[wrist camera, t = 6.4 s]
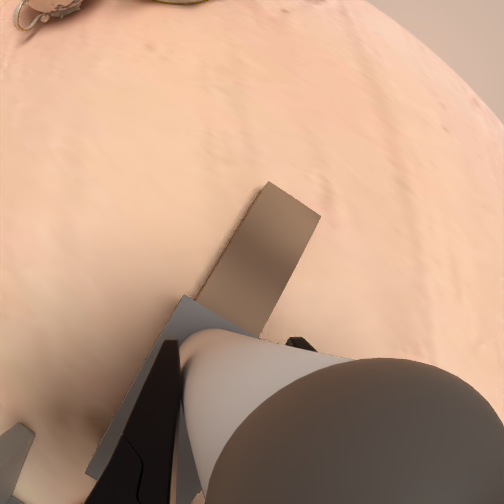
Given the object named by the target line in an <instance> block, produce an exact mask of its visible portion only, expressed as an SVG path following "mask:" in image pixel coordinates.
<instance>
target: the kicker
mask: <svg viewBox="0 0 504 504" xmlns="http://www.w3.org/2000/svg"><path fill="white" fill-rule="evenodd" d="M164 339H178V340H179V351H180V366H181V398H180V425H179V441H178V459H177V482H176V504H190V503H191V502H192V500H193V499H194V497H195V496H196V494H197V493H200V491H201V490H203V493H204V497H205V500H206V501H205V504H504V426H503V423H502V422H501V420H500V419H499V417H498V415H497V414H496V412H495V411H494V409H493V408H492V406H491V405H490V404H489V402H488V401H487V400H486V399H485V398H484V397H483V396H482V395H481V394H480V393H479V392H478V391H476V390H475V389H474V388H473V387H472V386H470V385H469V384H468V383H466V382H465V381H463V380H462V379H460V378H459V377H457V376H455V375H453V374H451V373H449V372H447V371H445V370H442V369H440V368H437V367H435V366H432V365H428V364H424V363H421V362H416V361H411V360H407V359H394V358H371V359H360V360H352V359H347V358H342V357H337V356H332V355H327V354H322V353H317V352H313V351H308V350H304V349H299V348H295V347H290V346H286V345H282V344H278V343H273V342H269V341H265V340H262V339H260V338H258V337H256V336H254V335H253V334H251V333H249V332H247V331H246V330H244V329H242V328H240V327H238V326H237V325H235V324H233V323H232V322H230V321H228V320H226V319H225V318H223V317H221V316H220V315H218V314H216V313H214V312H213V311H211V310H209V309H208V308H206V307H204V306H203V305H201V304H199V303H198V302H196V301H194V300H193V299H191V298H189V297H188V296H186V295H184V296H183V297H182V298H181V300H180V301H179V303H178V305H177V306H176V308H175V310H174V312H173V313H172V315H171V317H170V318H169V320H168V322H167V323H166V325H165V327H164V329H163V330H162V332H161V334H160V336H159V337H158V339H157V341H156V342H155V344H154V346H153V348H152V349H151V351H150V353H149V355H148V356H147V358H146V360H145V362H144V363H143V365H142V367H141V369H140V371H139V372H138V374H137V376H136V378H135V379H134V381H133V383H132V385H131V387H130V388H129V390H128V392H127V394H126V396H125V397H124V399H123V401H122V403H121V405H120V407H119V408H118V410H117V412H116V414H115V416H114V418H113V419H112V421H111V423H110V424H109V426H108V428H107V430H106V431H105V433H104V435H103V437H102V439H101V441H100V443H99V445H98V447H97V448H96V451H95V453H94V455H93V457H92V459H91V461H90V463H89V466H88V468H87V470H86V472H85V474H87V475H88V476H90V477H92V478H94V479H96V480H97V481H98V479H99V478H100V476H101V474H102V472H103V471H104V469H105V467H106V465H107V463H108V462H109V459H110V457H111V455H112V453H113V451H114V449H115V447H116V444H117V442H118V440H119V437H120V435H122V431H123V428H124V426H125V424H126V422H127V419H128V417H129V415H130V412H131V410H132V408H133V406H134V403H135V401H136V399H137V397H138V394H139V392H140V390H141V388H142V386H143V383H144V381H145V379H146V377H147V375H148V372H149V370H150V368H151V366H152V364H153V361H154V359H155V357H156V355H157V353H158V351H159V349H160V346H161V344H162V342H163V340H164Z"/></svg>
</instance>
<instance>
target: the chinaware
mask: <svg viewBox="0 0 504 504" xmlns="http://www.w3.org/2000/svg"><path fill="white" fill-rule="evenodd" d="M81 1H83V0H22V1H21V2H20V3H19V4H18V6H17V7H16V9H15V12H14V25H15V27H16V28H17V29H18V30H19V31H27V30H29V29H31V28H32V27H33V26H34V24H35V23H36V21H37V20H38V18H39V17H41V19H40V20H41V22H44V23H45V22H47V21H48V20H49V18H50V16H55V17H60V18H63V17H64V16H65V15H68V14H70V13H72V12H74V11H76V10H80V8H79V7H80V5H81ZM153 1H156V2H161V3H167V4H195V3H201V2H205V1H208V0H153ZM22 5H24V6H28V5H29V6H30V7H31V8H33V9H35V10H37V11H40V12H43V13H41V14H39V15H38V16H36V18H35V19H34V20H33V22H32V23H31V24H30V25H29V26H28V27H26V28H22V27H20V25H19V21H18V19H19V13H20V9H21V7H22ZM48 13H50V14H48Z"/></svg>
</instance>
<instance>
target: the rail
mask: <svg viewBox="0 0 504 504" xmlns="http://www.w3.org/2000/svg"><path fill="white" fill-rule="evenodd" d="M320 218H321V216H320V215H318V214H317V213H316V212H314V211H313V210H311V209H310V208H308V207H307V206H305V205H304V204H302V203H301V202H299V201H298V200H297V199H295V198H294V197H292V196H291V195H289V194H288V193H286V192H285V191H283V190H282V189H280V188H278V187H277V186H275V185H274V184H272V183H271V182H269V181H268V183H267V184H266V185H265V186H264V187H263V189H262V190H261V192H260V193H259V195H258V196H257V198H256V200H255V201H254V203H253V205H252V206H251V208H250V209H249V211H248V213H247V214H246V216H245V218H244V219H243V221H242V222H241V224H240V226H239V227H238V229H237V231H236V232H235V234H234V236H233V237H232V239H231V241H230V242H229V244H228V246H227V247H226V249H225V251H224V252H223V254H222V255H221V257H220V259H219V260H218V262H217V264H216V265H215V267H214V269H213V271H212V272H211V274H210V276H209V277H208V279H207V281H206V282H205V284H204V286H203V287H202V289H201V291H200V292H199V294H198V296H197V297H196V299H195V301H196V302H198V303H199V304H201V305H203V306H204V307H206V308H208V309H209V310H211V311H213V312H214V313H216V314H218V315H220V316H221V317H223V318H225V319H226V320H228V321H230V322H232V323H233V324H235V325H237V326H238V327H240V328H242V329H244V330H246V331H247V332H249V333H251V334H253V335H254V336H256V337H259V335H260V333H261V331H262V329H263V327H264V326H265V324H266V322H267V320H268V318H269V316H270V314H271V313H272V311H273V309H274V307H275V305H276V303H277V301H278V300H279V298H280V296H281V294H282V292H283V290H284V288H285V286H286V284H287V282H288V281H289V279H290V277H291V275H292V273H293V271H294V269H295V267H296V265H297V263H298V261H299V259H300V257H301V255H302V253H303V252H304V250H305V248H306V246H307V244H308V242H309V240H310V238H311V236H312V234H313V232H314V230H315V228H316V226H317V224H318V222H319V220H320Z"/></svg>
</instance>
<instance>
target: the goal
mask: <svg viewBox="0 0 504 504" xmlns="http://www.w3.org/2000/svg"><path fill="white" fill-rule="evenodd" d="M34 436H35V434H34V433H33V432H31V431H30V430H29V429H27V428H26V427H25V426H24V425H22V424H21V423H20V422H19V423H17V424H16V425H14V426H13V427H12V428H10V429H9V430H8V431H6V432H5V433H4V434H2V435H1V436H0V504H24V503H22V502H21V501H19V500H18V499H16V498H15V497H13V496H12V494H13V491H14V489H15V486H16V483H17V480H18V477H19V474H20V472H21V469H22V466H23V464H24V461H25V459H26V456H27V453H28V451H29V448H30V446H31V444H32V441H33V439H34Z"/></svg>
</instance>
